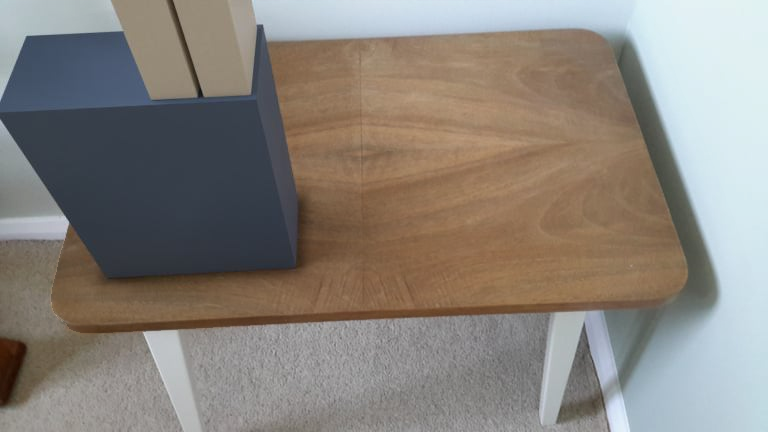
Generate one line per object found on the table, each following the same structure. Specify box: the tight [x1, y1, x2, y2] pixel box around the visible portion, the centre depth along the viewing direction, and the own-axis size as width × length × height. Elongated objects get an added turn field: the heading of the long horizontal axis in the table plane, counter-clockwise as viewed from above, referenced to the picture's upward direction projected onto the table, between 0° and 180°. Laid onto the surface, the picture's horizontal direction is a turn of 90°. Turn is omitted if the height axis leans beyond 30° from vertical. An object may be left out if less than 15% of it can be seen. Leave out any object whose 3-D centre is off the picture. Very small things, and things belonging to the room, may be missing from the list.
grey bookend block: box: [0, 0, 299, 279], centre depth 66 cm, size 22×10×42 cm, turn 93°
